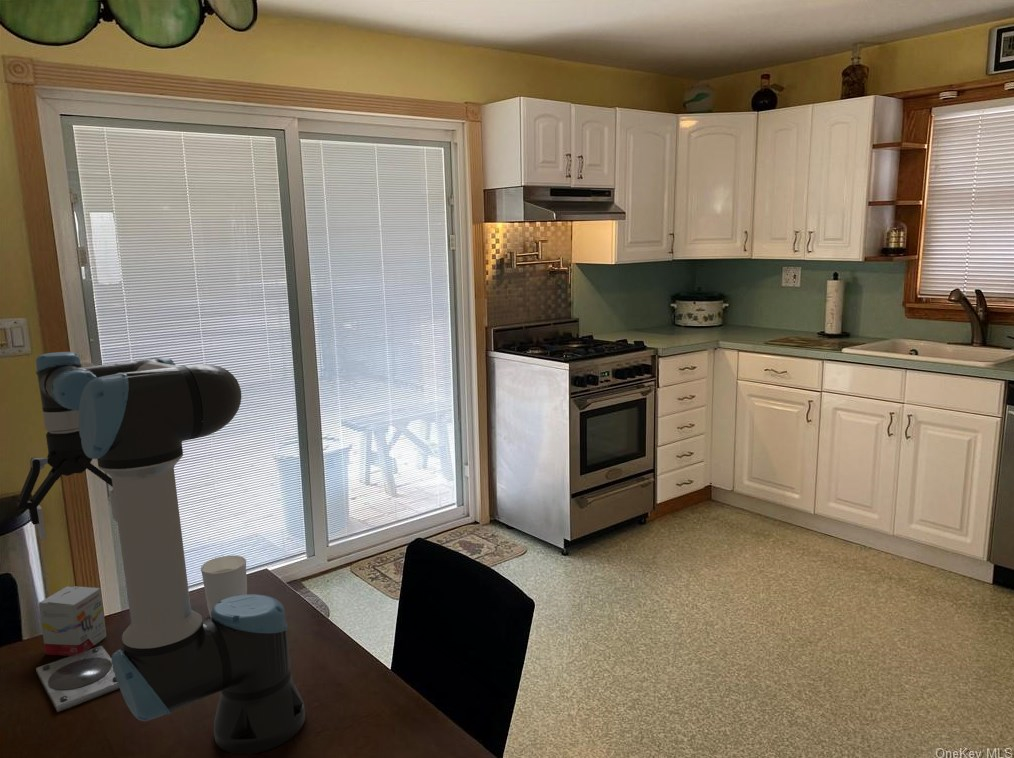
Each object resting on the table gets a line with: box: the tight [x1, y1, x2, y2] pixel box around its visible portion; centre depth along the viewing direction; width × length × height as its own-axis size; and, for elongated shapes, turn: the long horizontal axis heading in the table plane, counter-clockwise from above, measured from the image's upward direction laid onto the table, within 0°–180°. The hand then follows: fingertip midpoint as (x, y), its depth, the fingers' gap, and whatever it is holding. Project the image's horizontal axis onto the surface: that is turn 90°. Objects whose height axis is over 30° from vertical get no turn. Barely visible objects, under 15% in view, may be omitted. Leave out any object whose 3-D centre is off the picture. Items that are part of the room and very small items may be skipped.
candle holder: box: [200, 555, 248, 619], centre depth 170 cm, size 10×10×12 cm
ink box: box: [38, 585, 107, 657], centre depth 158 cm, size 9×9×12 cm
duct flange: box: [35, 645, 120, 713], centre depth 145 cm, size 18×12×2 cm, turn 43°
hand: (80, 528), depth 152 cm, fingers open, 13 cm apart
